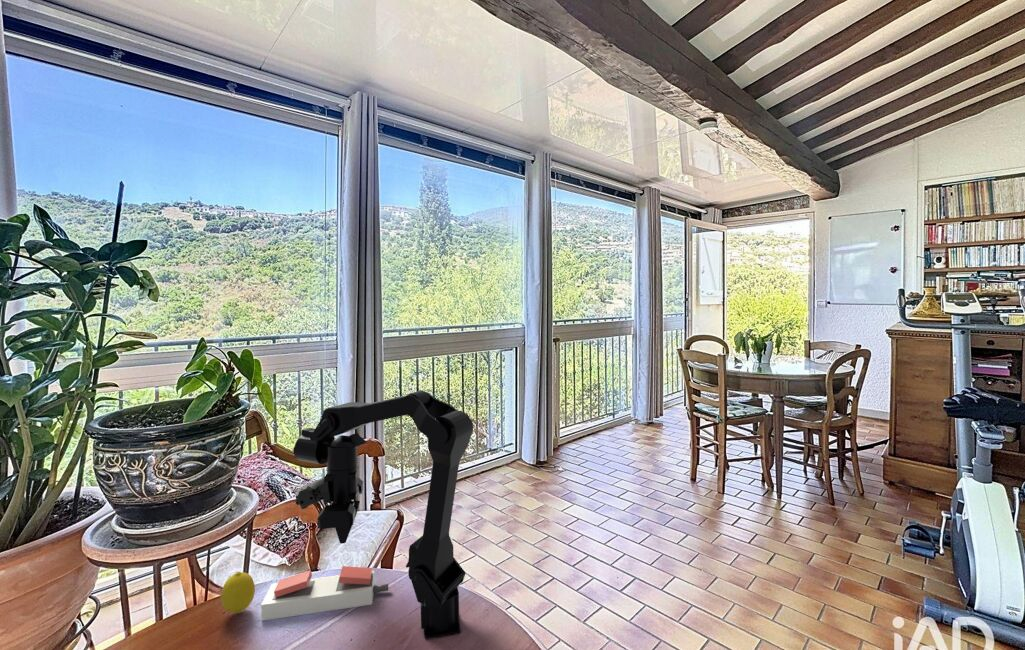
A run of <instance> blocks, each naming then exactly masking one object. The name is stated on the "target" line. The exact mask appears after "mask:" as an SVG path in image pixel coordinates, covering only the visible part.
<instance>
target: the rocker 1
mask: <svg viewBox="0 0 1025 650" xmlns="http://www.w3.org/2000/svg"><path fill="white" fill-rule="evenodd" d="M312 577H313V574H312V570H311V569H310V570H306V571H303V572H301V573H298V574H294V575H291V576H289V577H288V576H287V577H286V578H282V579H279V580H278V582H277V583H278V584H277V586H276V588H275V590H274V594H275V598H276V597H279V596H282V595H285V594H288V593H291V592H294V591H297V590H300V589H303V588H306V587H308V585H309V583H310V580H311V579H312Z"/></svg>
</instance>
